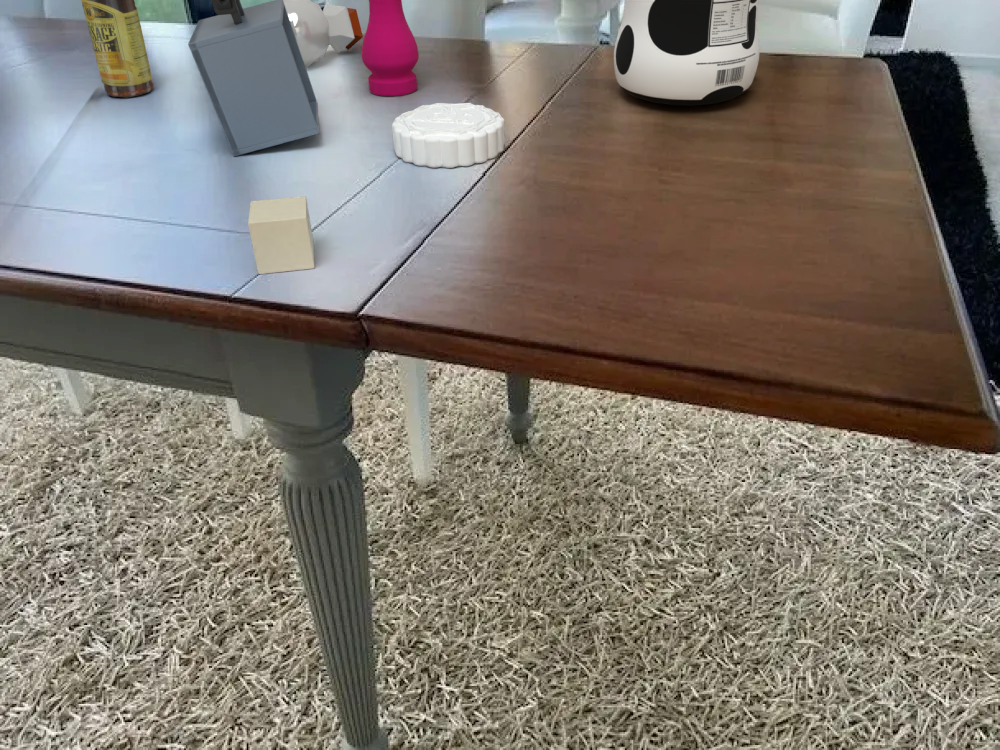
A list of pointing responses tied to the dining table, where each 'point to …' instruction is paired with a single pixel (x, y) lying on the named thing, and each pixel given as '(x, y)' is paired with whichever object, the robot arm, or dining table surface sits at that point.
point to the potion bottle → (322, 28)
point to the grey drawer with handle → (255, 77)
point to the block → (281, 235)
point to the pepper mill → (389, 50)
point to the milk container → (687, 50)
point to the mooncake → (448, 135)
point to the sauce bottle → (118, 46)
